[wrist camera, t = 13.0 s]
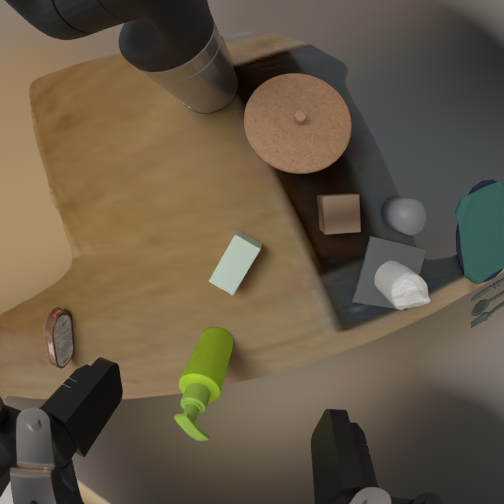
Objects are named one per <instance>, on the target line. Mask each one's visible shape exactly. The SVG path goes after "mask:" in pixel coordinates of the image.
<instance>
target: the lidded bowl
mask: <svg viewBox="0 0 504 504" xmlns="http://www.w3.org/2000/svg"><path fill="white" fill-rule="evenodd" d="M351 128H352V125H351V117H350V113H349V110H348V107H347V105H346V103H345V101H344V100H343V98H342V97H341V96H340V94H339V93H338V92H337V91H336V90H335V89H334V88H333V87H331V86H330V85H329V84H327V83H326V82H324V81H323V80H321V79H318V78H316V77H313V76H310V75H306V74H299V73H290V74H283V75H279V76H276V77H273V78H271V79H269V80H267V81H266V82H264V83H263V84H261V85H260V86H259V87H258V88H257V89H256V90H255V91H254V92H253V94H252V95H251V97H250V98H249V100H248V102H247V105H246V108H245V112H244V129H245V133H246V136H247V139H248V141H249V143H250V145H251V147H252V148H253V150H254V151H255V152H256V153H257V155H258V156H259V157H260V158H261V159H263V160H264V161H265V162H266V163H268V164H269V165H271V166H272V167H274V168H277V169H279V170H281V171H285V172H288V173H296V174H306V173H312V172H316V171H319V170H322V169H324V168H326V167H328V166H330V165H331V164H332V163H334V162H335V161H336V160H337V159H338V158H339V157H340V156H341V155H342V154H343V152H344V151H345V149H346V147H347V145H348V143H349V140H350V136H351Z"/></svg>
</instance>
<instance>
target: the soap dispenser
mask: <svg viewBox="0 0 504 504" xmlns="http://www.w3.org/2000/svg"><path fill="white" fill-rule="evenodd" d="M233 344H234V341H233V338H232V336H231V334H230V333H229V332H228V331H226V330H224V329H222V328H219V327H211V328H208V329H206V330H205V331H204V332H203V333H202V335H201V337H200V339H199V341H198V343H197V345H196V347H195V350H194V352H193V354H192V356H191V358H190V360H189V362H188V364H187V366H186V368H185V370H184V372H183V375H182V377H181V379H180V381H179V388H180V390H181V392H182V393H183V394H184V395H183V397H182V399H181V406H182V408H183V409H184V412H183V414H177V415H175V417H174V418H175V420H176V421H177V422H178V424H179V425H180V426H181V427H182V428H183V430H184V431H185V432H186V433H187V434H188V435H190V436H191V437H192V438H193V439H195V440H197V441H203V440H209V439H210V438H209V436H208V435H207V434H206V433H204V432H203V431H202V430H201V429H200V428H199V427H198V425H197V424H196V423H195V419H196V416H197V415H200V414H202V413H204V412H205V410H206V407H207V404H208V403H212V402H214V401H216V400H217V399H218V398H219V396H220V393H221V389H222V386H223V382H224V378H225V375H226V371H227V367H228V363H229V360H230V356H231V352H232V349H233Z"/></svg>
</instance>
